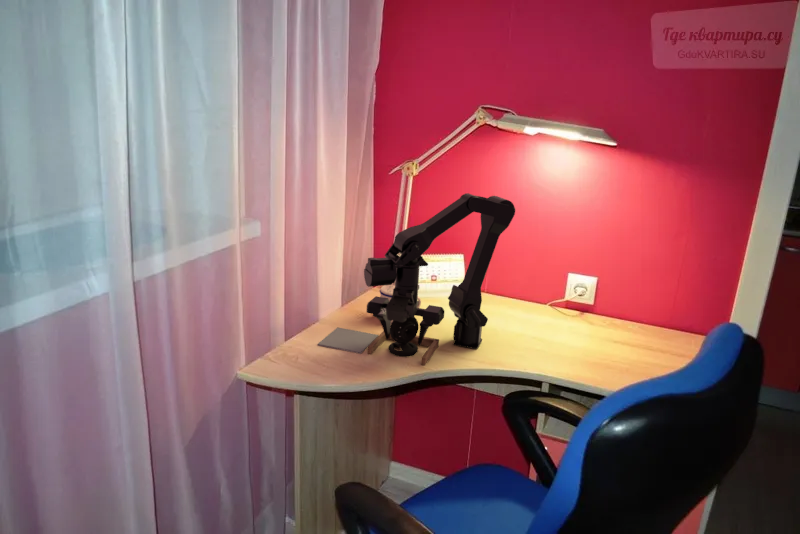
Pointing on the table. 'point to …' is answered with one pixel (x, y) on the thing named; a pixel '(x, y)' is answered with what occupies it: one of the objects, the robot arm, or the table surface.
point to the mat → (348, 340)
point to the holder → (426, 341)
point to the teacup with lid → (391, 293)
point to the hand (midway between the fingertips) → (403, 341)
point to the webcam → (404, 337)
